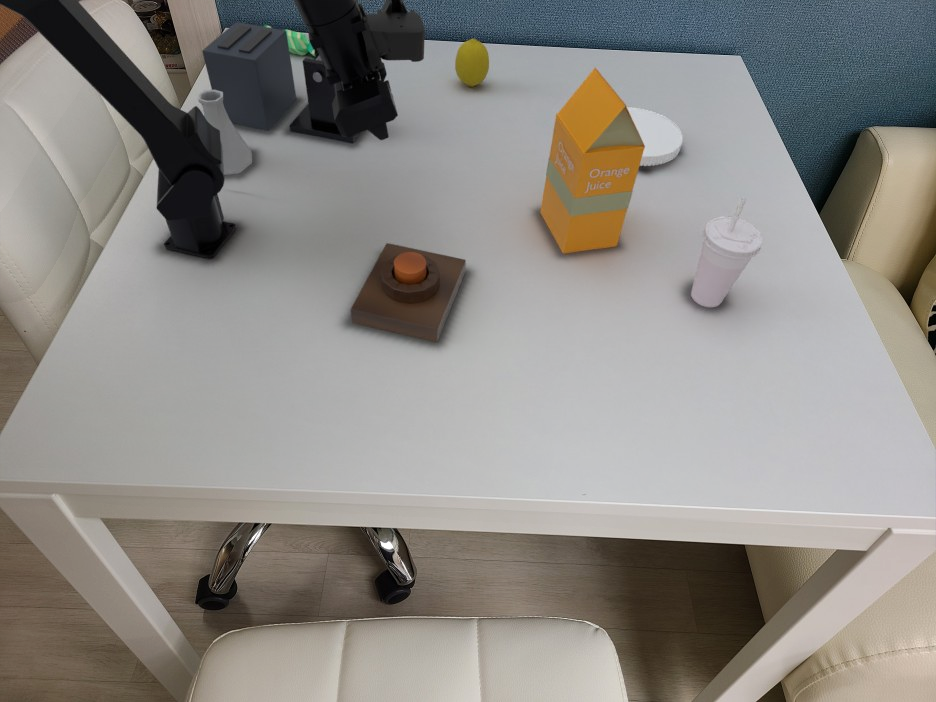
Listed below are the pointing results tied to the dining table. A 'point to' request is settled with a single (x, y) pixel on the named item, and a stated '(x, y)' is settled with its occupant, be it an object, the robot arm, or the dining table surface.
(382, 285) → the control block
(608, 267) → the dining table surface
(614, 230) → the orange juice
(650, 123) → the plastic lid
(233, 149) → the flask
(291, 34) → the candy
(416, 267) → the button
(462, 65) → the lemon
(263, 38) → the toaster
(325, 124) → the lever bracket
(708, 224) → the smoothie
